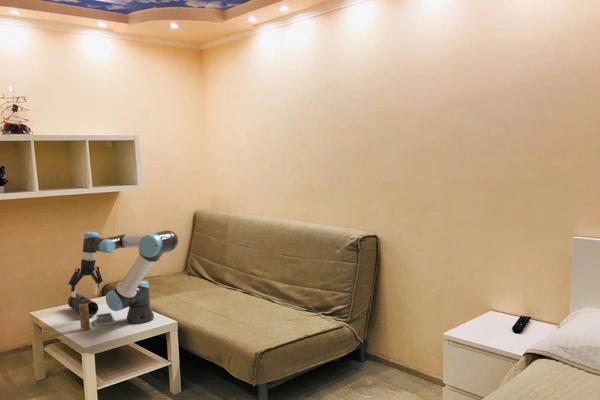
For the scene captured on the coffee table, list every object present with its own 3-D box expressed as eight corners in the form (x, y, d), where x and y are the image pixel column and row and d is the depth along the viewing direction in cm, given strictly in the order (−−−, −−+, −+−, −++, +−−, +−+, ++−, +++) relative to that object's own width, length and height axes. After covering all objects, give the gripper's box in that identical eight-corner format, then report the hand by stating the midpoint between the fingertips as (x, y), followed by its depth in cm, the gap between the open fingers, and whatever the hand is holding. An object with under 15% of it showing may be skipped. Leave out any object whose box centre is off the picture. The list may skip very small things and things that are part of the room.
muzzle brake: (83, 320, 291) (82, 303, 290) (67, 310, 311) (66, 294, 311) (99, 316, 298) (98, 299, 297) (82, 307, 318) (81, 291, 317)
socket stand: (113, 318, 293) (113, 311, 293) (115, 323, 283) (115, 316, 283) (93, 321, 288) (93, 314, 288) (95, 326, 278) (94, 319, 278)
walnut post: (89, 327, 277) (87, 303, 276) (89, 330, 273) (88, 305, 272) (80, 329, 275) (79, 304, 274) (81, 331, 271) (79, 306, 270)
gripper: (103, 256, 294) (99, 291, 295) (64, 259, 273) (60, 296, 274) (111, 259, 290) (107, 294, 291) (72, 261, 269) (67, 299, 270)
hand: (84, 295), depth 283 cm, fingers open, 13 cm apart
